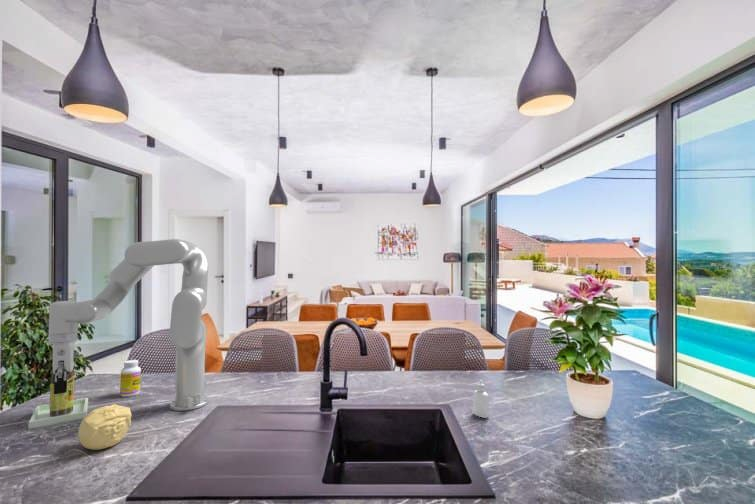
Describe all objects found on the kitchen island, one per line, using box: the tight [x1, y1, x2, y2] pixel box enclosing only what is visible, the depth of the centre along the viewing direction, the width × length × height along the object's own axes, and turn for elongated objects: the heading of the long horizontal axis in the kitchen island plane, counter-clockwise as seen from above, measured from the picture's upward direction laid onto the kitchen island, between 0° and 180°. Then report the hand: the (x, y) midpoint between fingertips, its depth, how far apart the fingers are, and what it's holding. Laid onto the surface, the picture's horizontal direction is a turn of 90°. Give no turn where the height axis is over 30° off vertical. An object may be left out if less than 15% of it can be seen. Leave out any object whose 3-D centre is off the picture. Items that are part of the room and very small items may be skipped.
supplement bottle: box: [119, 359, 142, 398], centre depth 147 cm, size 7×7×13 cm
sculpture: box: [77, 403, 132, 451], centre depth 106 cm, size 11×12×11 cm
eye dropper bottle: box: [472, 379, 490, 419], centre depth 128 cm, size 4×6×12 cm
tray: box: [28, 397, 89, 430], centre depth 126 cm, size 16×14×2 cm
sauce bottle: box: [49, 365, 76, 416], centre depth 126 cm, size 6×6×20 cm
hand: (61, 389), depth 126 cm, fingers open, 8 cm apart
